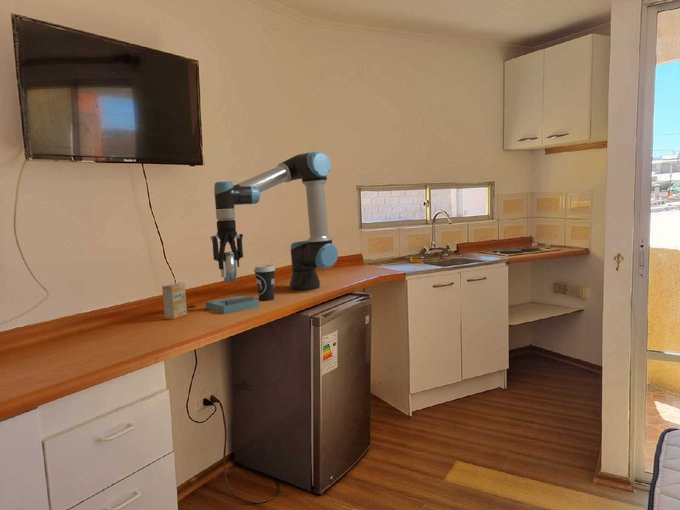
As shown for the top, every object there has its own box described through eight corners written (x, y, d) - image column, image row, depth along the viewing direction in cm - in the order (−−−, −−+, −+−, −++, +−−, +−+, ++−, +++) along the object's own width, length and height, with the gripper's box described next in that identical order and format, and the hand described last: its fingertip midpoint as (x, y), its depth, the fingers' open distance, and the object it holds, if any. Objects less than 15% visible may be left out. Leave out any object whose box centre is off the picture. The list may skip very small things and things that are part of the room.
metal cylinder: (232, 280, 218) (230, 251, 217) (238, 281, 215) (236, 252, 213) (222, 281, 215) (220, 252, 214) (227, 282, 212) (225, 253, 210)
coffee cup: (273, 301, 226) (271, 267, 224) (252, 301, 228) (250, 267, 226) (280, 297, 235) (278, 264, 234) (260, 297, 237) (258, 264, 236)
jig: (240, 302, 228) (239, 292, 227) (259, 306, 215) (258, 295, 215) (206, 308, 217) (205, 298, 217) (224, 313, 205) (223, 302, 205)
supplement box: (174, 319, 199) (171, 286, 198) (164, 319, 201) (161, 285, 200) (188, 314, 207) (185, 282, 206) (178, 314, 209) (175, 282, 207)
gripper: (240, 218, 221) (244, 273, 223) (201, 221, 210) (205, 278, 212) (249, 218, 215) (253, 274, 218) (209, 221, 204) (214, 279, 206)
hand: (229, 276), depth 215 cm, fingers closed on metal cylinder, 5 cm apart
